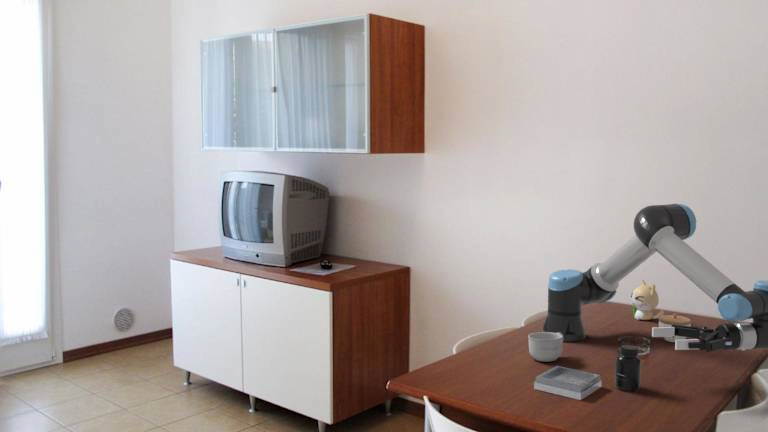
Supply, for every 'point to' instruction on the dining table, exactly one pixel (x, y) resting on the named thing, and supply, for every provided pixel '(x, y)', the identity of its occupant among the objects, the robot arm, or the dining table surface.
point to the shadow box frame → (568, 382)
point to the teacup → (545, 345)
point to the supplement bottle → (628, 369)
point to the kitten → (645, 302)
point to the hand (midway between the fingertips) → (663, 338)
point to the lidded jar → (674, 320)
